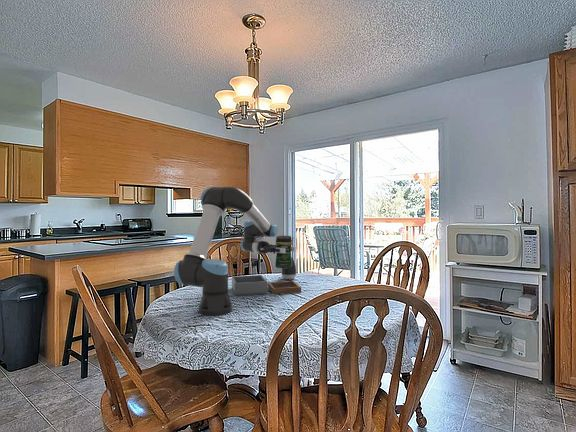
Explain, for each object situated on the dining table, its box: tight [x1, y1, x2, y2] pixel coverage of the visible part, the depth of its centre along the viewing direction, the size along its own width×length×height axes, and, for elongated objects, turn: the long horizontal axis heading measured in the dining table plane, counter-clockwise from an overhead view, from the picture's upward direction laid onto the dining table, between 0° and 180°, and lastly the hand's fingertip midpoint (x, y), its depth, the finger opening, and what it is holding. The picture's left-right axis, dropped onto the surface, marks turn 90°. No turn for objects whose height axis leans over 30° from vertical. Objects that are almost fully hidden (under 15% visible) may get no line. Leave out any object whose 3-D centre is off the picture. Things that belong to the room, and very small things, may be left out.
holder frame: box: [268, 280, 302, 295], centre depth 196 cm, size 16×16×3 cm
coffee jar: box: [275, 235, 293, 269], centre depth 196 cm, size 10×8×19 cm
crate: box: [231, 274, 269, 297], centre depth 193 cm, size 18×18×7 cm
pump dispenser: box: [280, 257, 298, 280], centre depth 226 cm, size 10×10×15 cm
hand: (290, 250), depth 193 cm, fingers closed on coffee jar, 9 cm apart
